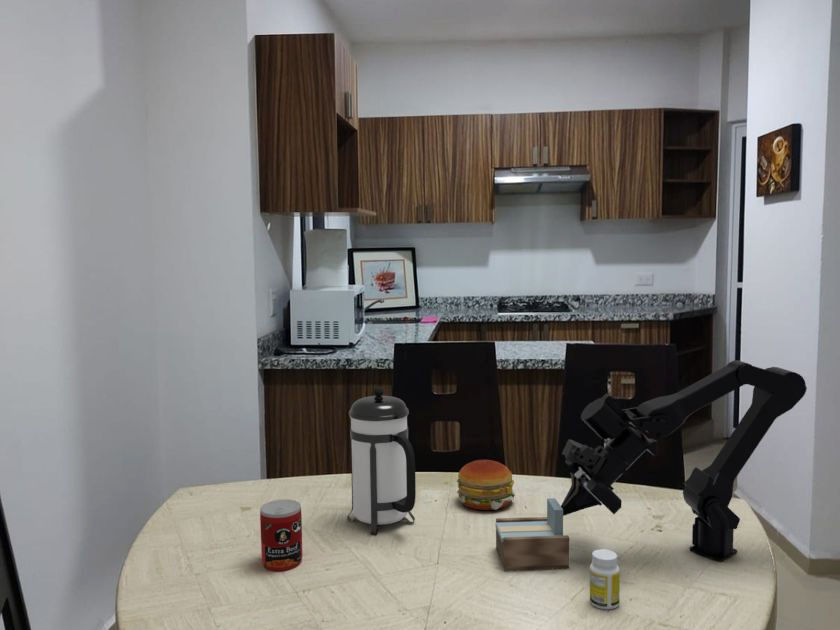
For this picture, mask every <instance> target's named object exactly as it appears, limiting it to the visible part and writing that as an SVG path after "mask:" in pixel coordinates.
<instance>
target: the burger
mask: <svg viewBox="0 0 840 630" xmlns="http://www.w3.org/2000/svg"><path fill="white" fill-rule="evenodd" d="M457 475H458V477H457V478H458V479H457V480H456V483H458V484H457V487H458V490H457V492H456V493H457V494H458V499H459V501H460V502H461V503H462V505H464V506H466V507H468V508H471V509H476V510H484V511H489V510H490V511H492V510H499V509H502V508H504V507H506V506H508V505H509V504H510V502H511V500H514V499H515V496H516V494H515V491H514V489H513V485H514V484H515V481H514V479H513V474H512V471H510V469H509V468H508V467H507V466H506V465H504V464H502V463H501V462H500V461H495V460H492V459H491V460H490V459H478V460H477V459H476V460H473V461H470V462H468V463H466V464H465V465H464V466H463V467H461V469H460V470H459V471H458V474H457Z"/></svg>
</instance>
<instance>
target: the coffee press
mask: <svg viewBox="0 0 840 630" xmlns="http://www.w3.org/2000/svg"><path fill="white" fill-rule="evenodd" d="M372 392H373V394H374V395H371V396H370V395H369V396H365V397H362V398H359V399H357V400H356V401H354V403H353V404H352V405H351V408H350V410H349V411H348V415H349V418H350V427H349V430H350V431H349V432H350V433H349V434H350V435H349V436H350V463H351V465H350V466H351V467H350V469H351V511H350V512H349V514H348V515H347V518H346V520H347V521H348V522H350V523H351V522H353V521H355V520H356V519H357V520H358V521H360V522H362V523H365V524H367V525H368V524H369V525H370V529H369V533H370V535H373V536H377V535H378V534H379V527H380V526H381V525H389V524H393V523H397V522H399V521H401V520H403V521H405V522H406V523H407V524H408V525H413V524H414V523H415V521H416V518H415V516H414V515H413V513H412V510H413V509H414V507H415V504H416V483H417V482H416V460H415V459H416V458H415V453H414V448H413V445H412V443H411V441H410V440H409V426H408V415H409V414H410V413H409V411H410V410H409V408H408V407H407V406H406V403H405V402H404V401H403V400H402V399H401V398H398V397H395V396H391V395H390V396H389V395H384V393H385V390H384V388H383V386H382V387H381V386H375V387H374V388H373V390H372ZM352 512H353V515H354V517H353V518H351V517H350V515H351V514H352ZM407 515H409V517H410V518H411V519H412V521H410V520H409V519H408V518H407V517H406V516H407Z"/></svg>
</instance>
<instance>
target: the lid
mask: <svg viewBox="0 0 840 630" xmlns="http://www.w3.org/2000/svg"><path fill="white" fill-rule="evenodd" d="M546 509H547V510H546V517H547V521H532V522H500V523H496V522H495V530H496V529H497V531H498V534H499V537H500V539H501V542H502V543H503V542H504V537H532V536H563V535H564V516H563V509H562V507H561V505H560V503H559V502H558V500H557V499H556V498H555V497H553V498H551V497H550V498H547V499H546Z"/></svg>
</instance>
